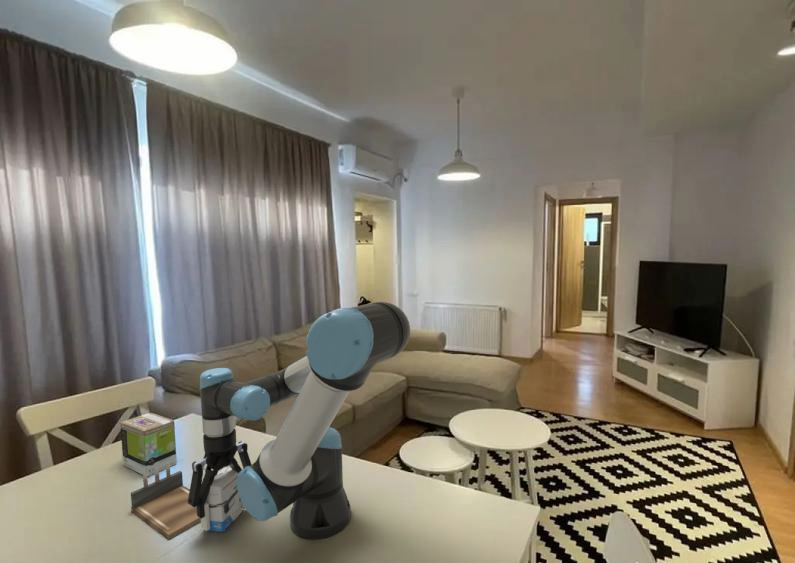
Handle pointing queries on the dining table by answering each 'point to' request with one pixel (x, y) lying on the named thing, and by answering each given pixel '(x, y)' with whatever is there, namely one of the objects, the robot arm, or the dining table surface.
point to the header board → (165, 504)
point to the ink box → (224, 500)
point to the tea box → (148, 443)
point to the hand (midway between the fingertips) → (224, 516)
